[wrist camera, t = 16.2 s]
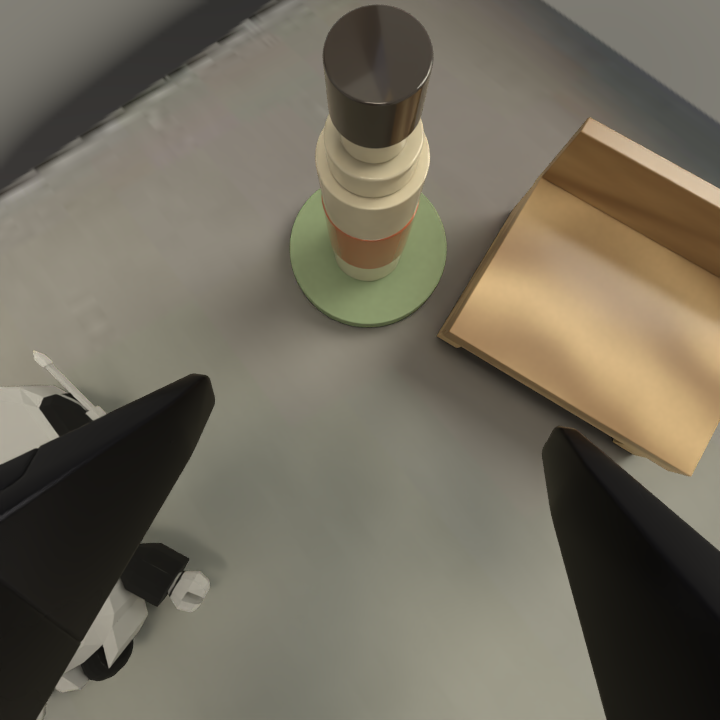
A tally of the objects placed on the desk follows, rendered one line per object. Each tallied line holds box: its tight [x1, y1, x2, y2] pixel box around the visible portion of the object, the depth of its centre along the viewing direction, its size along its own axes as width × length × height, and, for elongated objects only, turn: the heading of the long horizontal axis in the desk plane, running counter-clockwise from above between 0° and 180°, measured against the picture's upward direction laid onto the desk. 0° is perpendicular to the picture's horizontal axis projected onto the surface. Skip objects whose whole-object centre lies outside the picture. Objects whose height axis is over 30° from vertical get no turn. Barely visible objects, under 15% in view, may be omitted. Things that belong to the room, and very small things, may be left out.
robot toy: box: [0, 350, 210, 720], centre depth 17 cm, size 12×4×15 cm
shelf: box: [437, 117, 720, 476], centre depth 16 cm, size 10×13×6 cm
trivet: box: [290, 189, 447, 327], centre depth 20 cm, size 9×9×1 cm
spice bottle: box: [315, 4, 433, 281], centre depth 14 cm, size 4×4×11 cm
